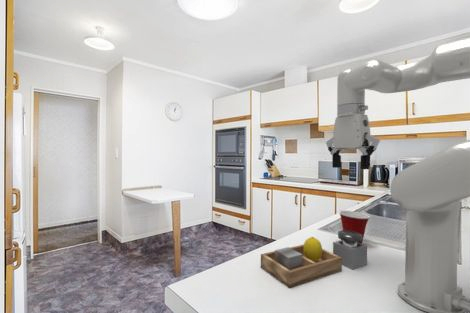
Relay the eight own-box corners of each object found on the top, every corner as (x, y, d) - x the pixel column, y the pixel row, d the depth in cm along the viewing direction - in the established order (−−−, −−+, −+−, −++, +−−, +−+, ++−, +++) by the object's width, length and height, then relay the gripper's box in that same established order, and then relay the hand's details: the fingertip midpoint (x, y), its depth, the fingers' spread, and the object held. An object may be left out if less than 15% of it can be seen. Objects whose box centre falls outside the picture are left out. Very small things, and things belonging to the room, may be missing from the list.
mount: (366, 264, 76) (367, 245, 76) (352, 269, 73) (352, 249, 73) (347, 256, 82) (347, 238, 82) (333, 260, 79) (333, 242, 79)
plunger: (367, 262, 76) (367, 235, 76) (352, 267, 73) (352, 238, 73) (347, 254, 82) (347, 229, 82) (333, 258, 79) (333, 232, 79)
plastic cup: (374, 250, 88) (375, 217, 87) (342, 248, 89) (343, 215, 89) (363, 239, 98) (364, 210, 98) (335, 238, 100) (335, 209, 100)
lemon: (308, 257, 79) (308, 232, 79) (325, 262, 75) (325, 236, 75) (300, 263, 75) (300, 237, 75) (317, 268, 71) (317, 241, 71)
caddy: (341, 270, 72) (341, 250, 72) (289, 288, 62) (289, 265, 62) (309, 254, 83) (309, 237, 83) (260, 267, 74) (260, 247, 74)
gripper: (386, 108, 68) (386, 169, 68) (335, 116, 83) (334, 166, 83) (370, 105, 64) (369, 170, 64) (319, 114, 80) (319, 167, 80)
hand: (350, 168), depth 74 cm, fingers open, 9 cm apart
